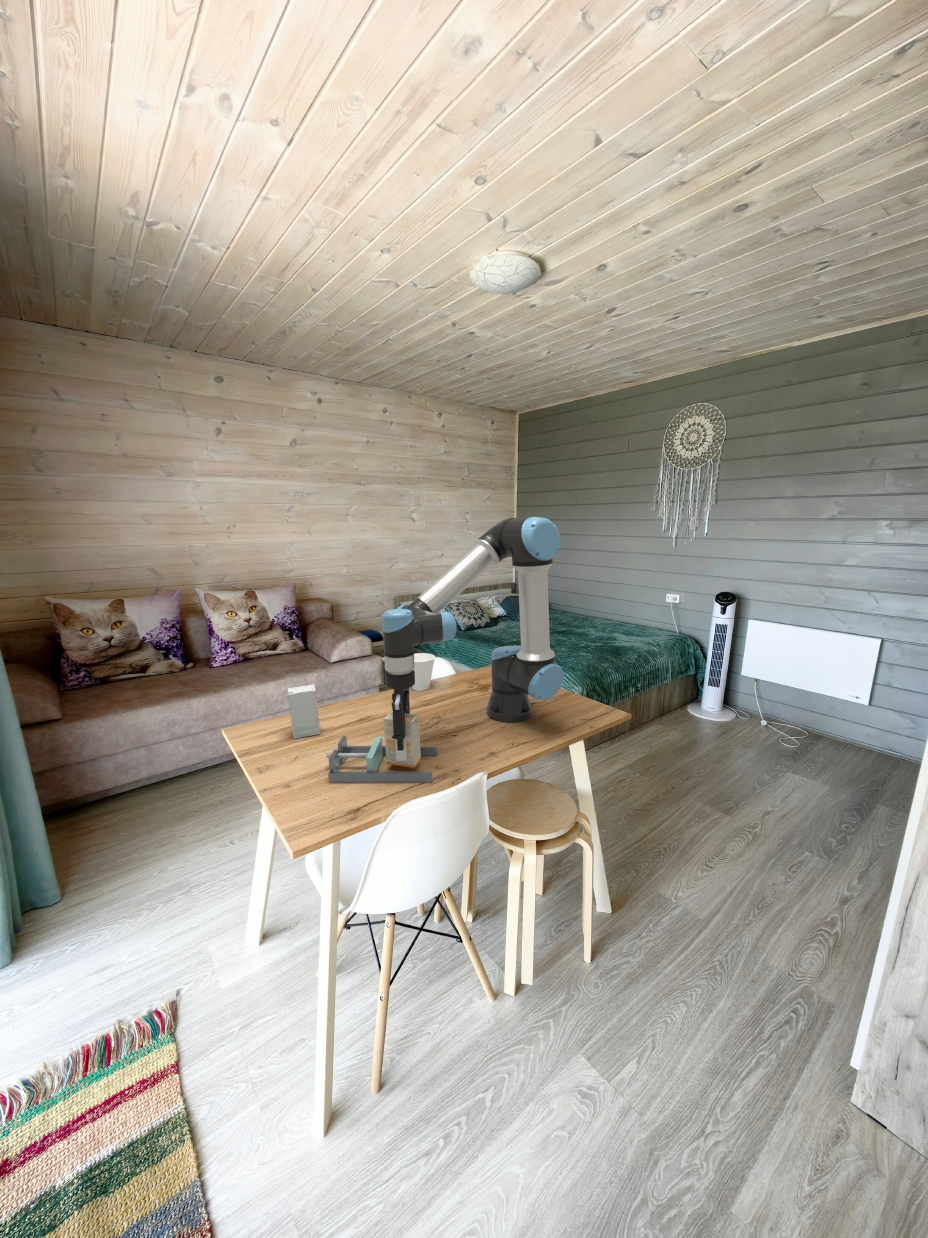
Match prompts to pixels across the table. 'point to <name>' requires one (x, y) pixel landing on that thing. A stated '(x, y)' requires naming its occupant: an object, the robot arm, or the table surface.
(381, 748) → the pusher
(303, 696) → the skincare box
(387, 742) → the supplement box
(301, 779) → the table surface
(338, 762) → the lane
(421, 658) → the cup
